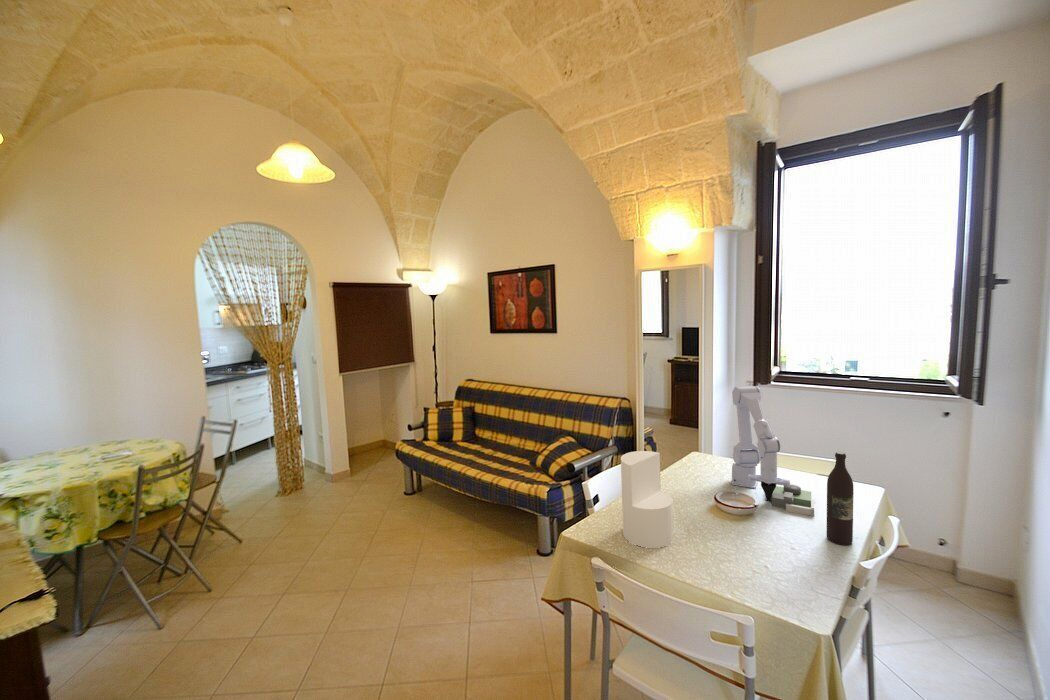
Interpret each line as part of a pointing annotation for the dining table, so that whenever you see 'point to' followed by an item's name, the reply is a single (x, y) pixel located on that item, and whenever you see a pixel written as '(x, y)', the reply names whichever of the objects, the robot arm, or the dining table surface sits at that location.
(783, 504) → the grey stepped block
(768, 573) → the dining table surface
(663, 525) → the white stepped pillar
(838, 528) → the wine bottle
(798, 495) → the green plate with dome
